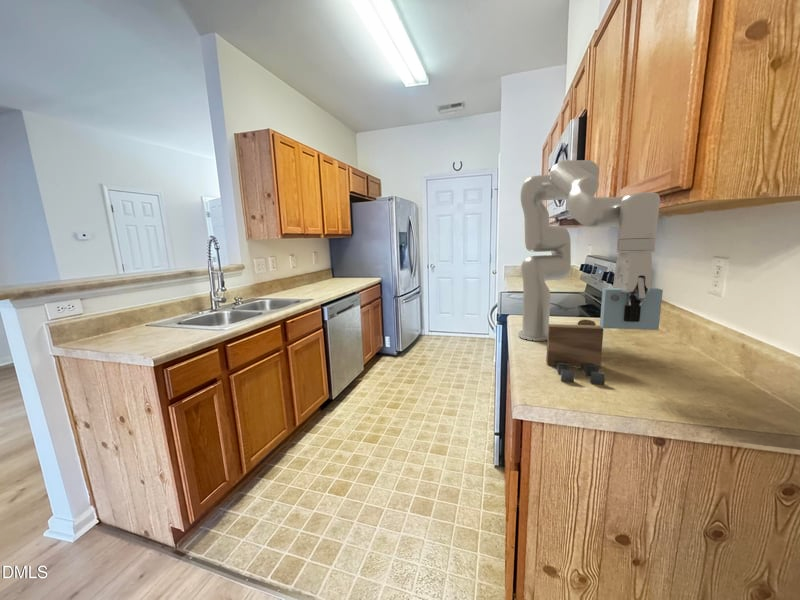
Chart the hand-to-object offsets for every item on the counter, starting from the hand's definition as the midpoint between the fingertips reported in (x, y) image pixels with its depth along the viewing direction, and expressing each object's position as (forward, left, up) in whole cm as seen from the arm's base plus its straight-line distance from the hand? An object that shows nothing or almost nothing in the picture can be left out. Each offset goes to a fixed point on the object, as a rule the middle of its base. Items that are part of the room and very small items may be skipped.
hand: (628, 319), depth 81 cm
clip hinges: (-3, -10, -17) cm, 20 cm away
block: (0, 0, -2) cm, 2 cm away
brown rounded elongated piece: (-23, -4, -17) cm, 29 cm away
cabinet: (-10, -10, -17) cm, 22 cm away
